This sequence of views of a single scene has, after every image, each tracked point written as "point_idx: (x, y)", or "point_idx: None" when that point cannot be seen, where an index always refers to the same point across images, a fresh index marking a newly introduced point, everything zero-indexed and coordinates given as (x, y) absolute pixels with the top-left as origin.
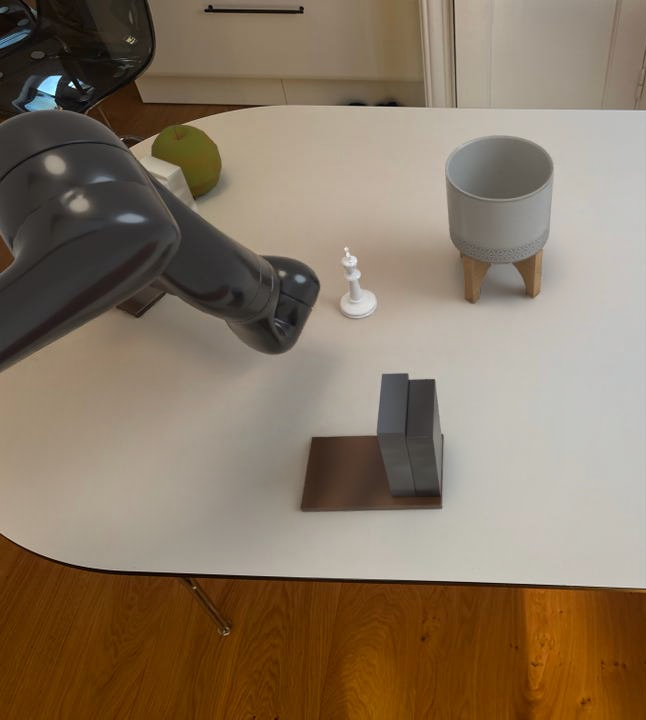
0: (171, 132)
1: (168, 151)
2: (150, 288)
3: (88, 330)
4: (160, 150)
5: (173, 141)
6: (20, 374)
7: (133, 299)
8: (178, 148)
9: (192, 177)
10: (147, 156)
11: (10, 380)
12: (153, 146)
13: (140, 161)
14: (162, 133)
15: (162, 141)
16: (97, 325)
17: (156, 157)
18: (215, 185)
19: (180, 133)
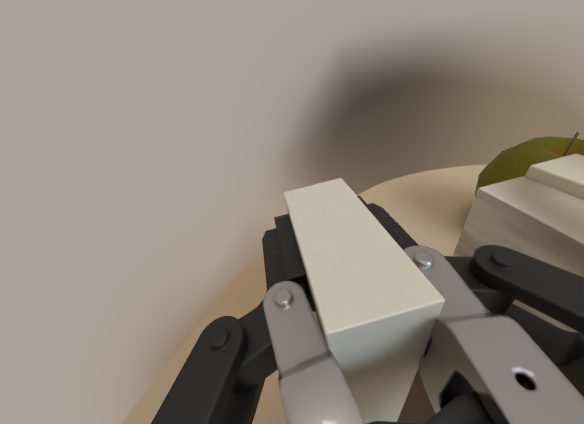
0: (552, 144)
1: None
2: (402, 420)
3: (260, 415)
4: (523, 165)
5: (563, 156)
6: (140, 421)
7: None
8: None
9: None
10: (579, 156)
11: (126, 420)
12: (503, 158)
13: (556, 162)
14: (531, 143)
15: (533, 152)
16: (277, 417)
17: (504, 174)
18: None
19: (571, 149)
